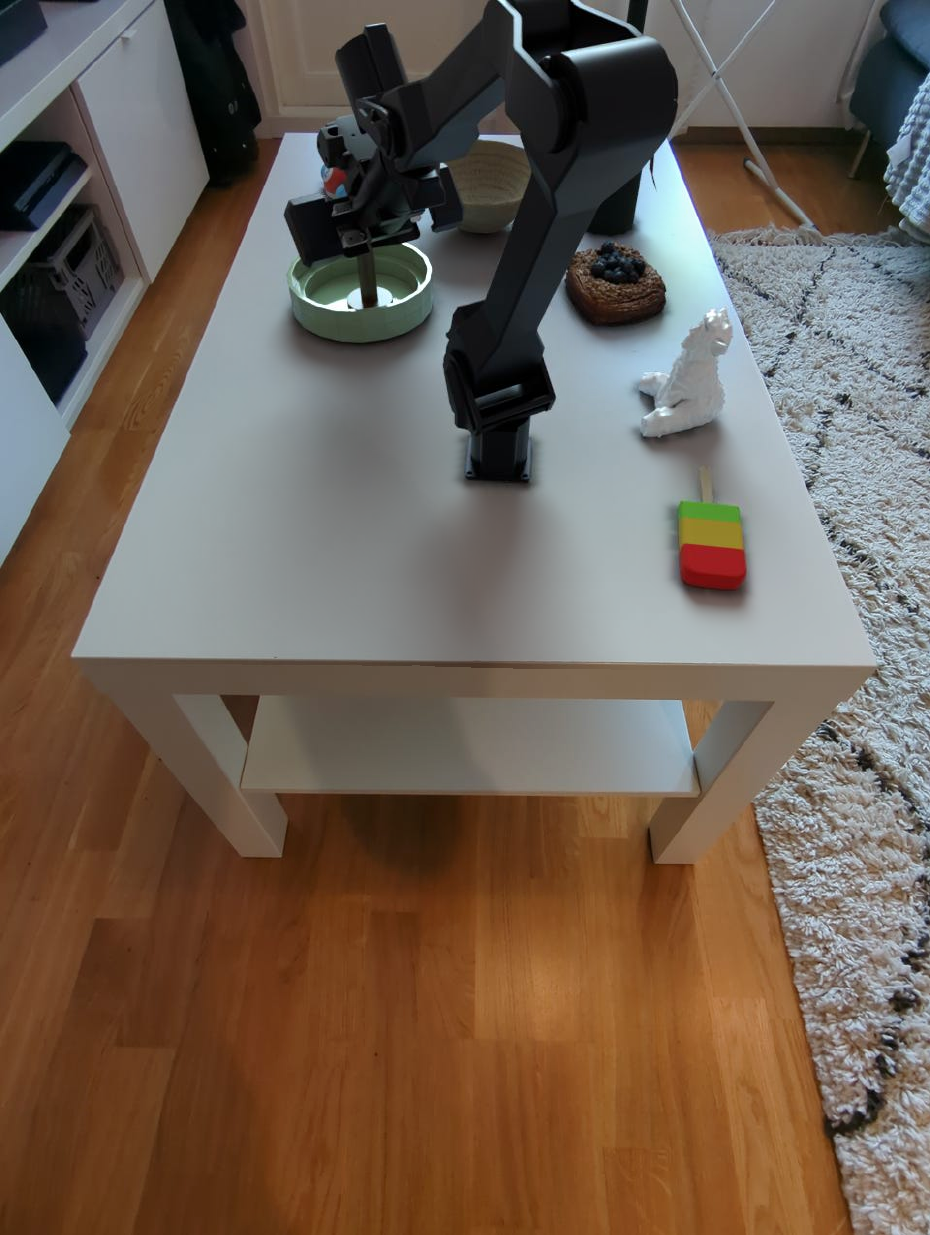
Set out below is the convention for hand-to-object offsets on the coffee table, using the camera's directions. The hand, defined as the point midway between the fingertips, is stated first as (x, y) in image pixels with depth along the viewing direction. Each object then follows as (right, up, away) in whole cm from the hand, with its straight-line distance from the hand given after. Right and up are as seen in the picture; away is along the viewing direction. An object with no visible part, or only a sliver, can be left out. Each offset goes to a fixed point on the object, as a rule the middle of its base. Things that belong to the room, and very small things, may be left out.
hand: (359, 245), depth 86 cm
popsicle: (+35, -35, -16) cm, 52 cm away
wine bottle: (+33, +13, +19) cm, 41 cm away
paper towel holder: (+1, -5, +5) cm, 7 cm away
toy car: (-4, +20, +25) cm, 32 cm away
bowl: (+14, +11, +18) cm, 26 cm away
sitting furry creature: (+35, -21, -6) cm, 41 cm away
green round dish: (0, -4, +6) cm, 8 cm away
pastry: (+31, -3, +8) cm, 32 cm away
